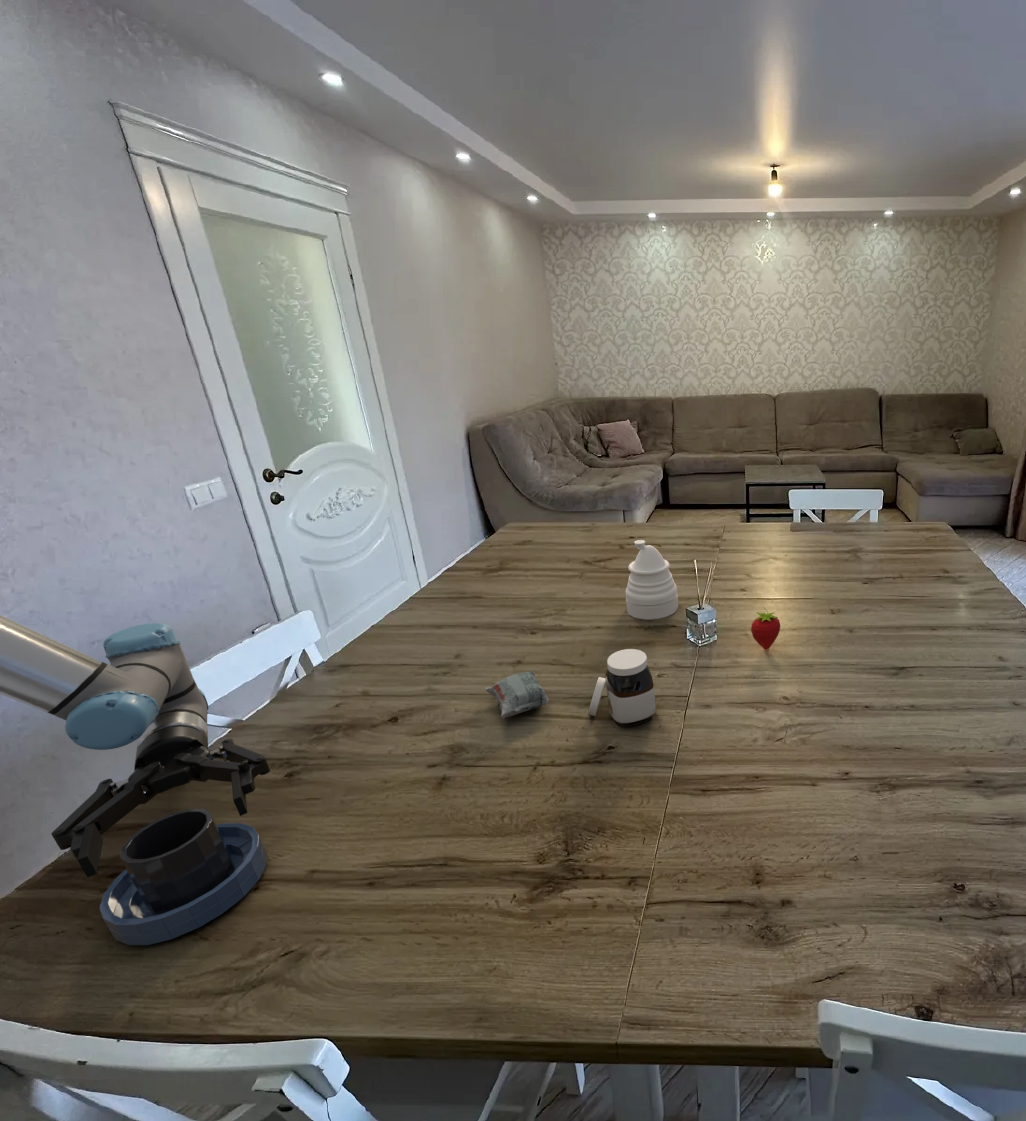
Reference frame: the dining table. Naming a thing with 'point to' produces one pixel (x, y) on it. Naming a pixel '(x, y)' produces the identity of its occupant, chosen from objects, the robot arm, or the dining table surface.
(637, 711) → the spread jar
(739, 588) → the dining table surface
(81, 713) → the robot arm
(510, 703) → the packaged food
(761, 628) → the strawberry
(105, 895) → the plate
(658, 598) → the honey pot
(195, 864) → the coffee cup
